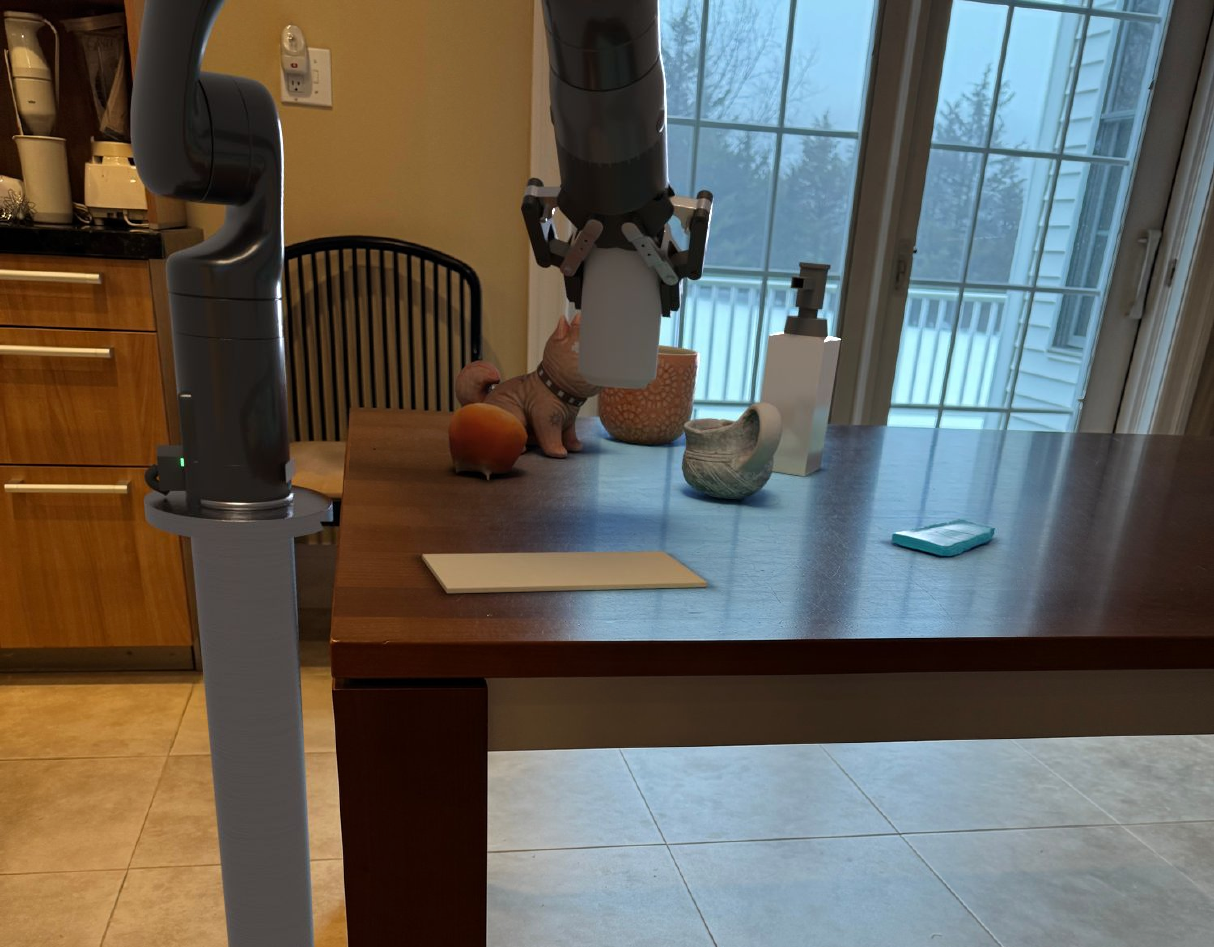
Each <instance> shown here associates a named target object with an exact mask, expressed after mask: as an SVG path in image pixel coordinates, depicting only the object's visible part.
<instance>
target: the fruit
mask: <svg viewBox="0 0 1214 947" xmlns="http://www.w3.org/2000/svg"><path fill="white" fill-rule="evenodd" d="M447 432H448V444H449V452H450V456H451V460H452V465H453V466H454V468H455V471H456V472H455V474H457V473H459V472H472V473H473V472H474V473H481V474H483V475H485V476H486V480H487V481H488V482H489V481H490V475H492V474H493V475H505V474H508V473H509V472H511V470H512V468H513V467H514V465H516V462H517V461H518V459H519V457H520V456H521V454H522V453H521V452H522V451H523V449H524V446H525V447H526V444H527V443H526V441H527V438H528V436H527V433H526V430H525V428H524V427H523V426H522V423H521V422H520V421H519V420H518V419H517V418H516V417H515V416H514V415H513V414H511V413H509V412H507V411H505V410H503V409H501V408H500V407H497V406H493V405H489V404H485V403H476V404H469V405H466V406H464V407H460V408H458V409H456V410H455V411H454V412H453V414H452V416H451V418H450V422H449V426H448V431H447Z"/></svg>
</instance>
